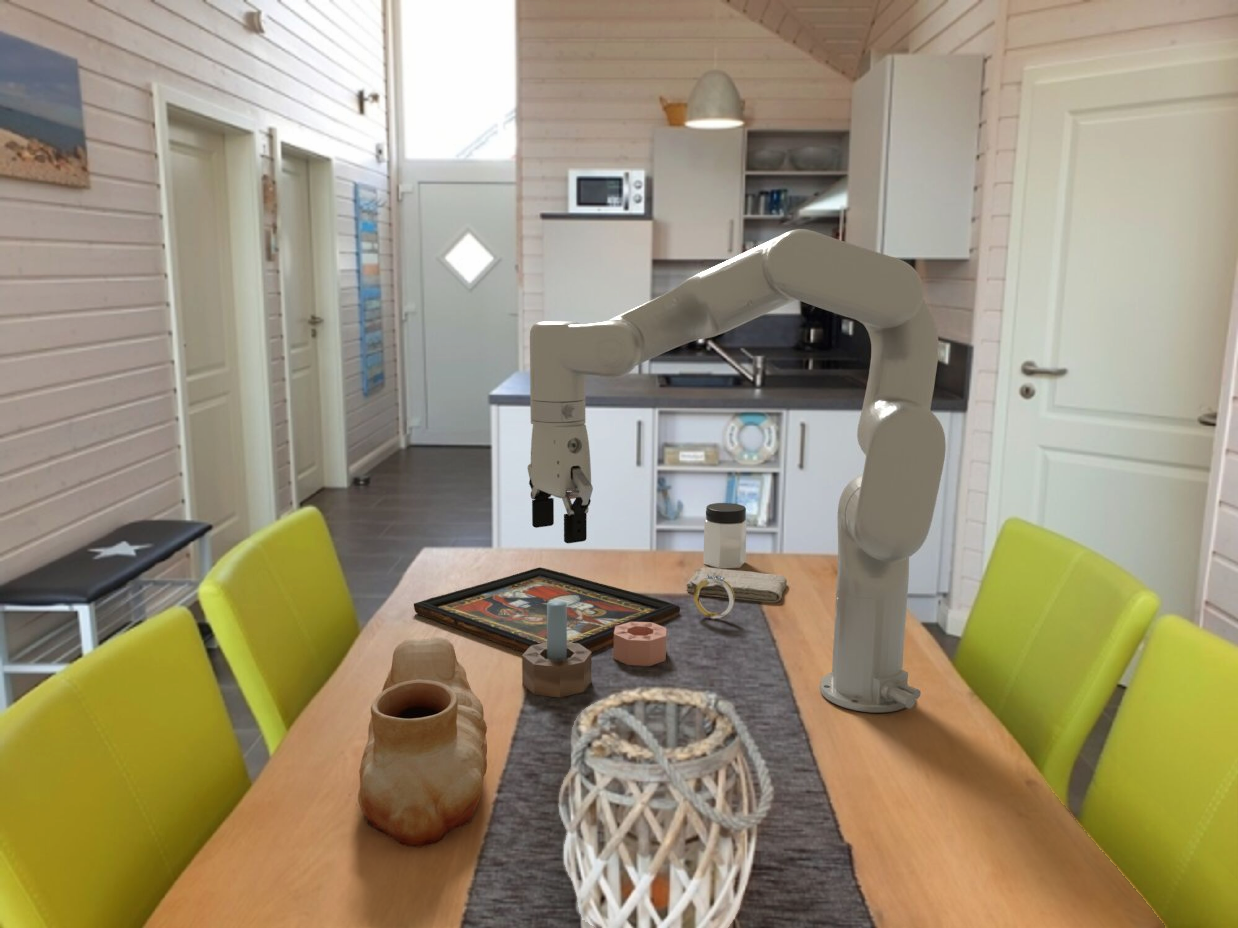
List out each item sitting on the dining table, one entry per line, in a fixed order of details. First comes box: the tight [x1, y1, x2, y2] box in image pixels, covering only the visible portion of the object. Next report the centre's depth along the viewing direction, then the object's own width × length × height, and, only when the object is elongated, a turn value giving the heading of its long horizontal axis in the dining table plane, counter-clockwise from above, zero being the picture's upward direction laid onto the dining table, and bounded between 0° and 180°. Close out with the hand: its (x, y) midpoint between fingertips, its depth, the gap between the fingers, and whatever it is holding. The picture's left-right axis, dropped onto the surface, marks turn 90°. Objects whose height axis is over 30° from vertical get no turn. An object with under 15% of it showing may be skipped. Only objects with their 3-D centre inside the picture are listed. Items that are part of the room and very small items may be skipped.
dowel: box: [547, 601, 567, 660], centre depth 136 cm, size 3×3×12 cm
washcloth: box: [686, 566, 788, 603], centre depth 181 cm, size 12×18×3 cm, turn 74°
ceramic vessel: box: [357, 636, 488, 848], centre depth 108 cm, size 14×26×15 cm, turn 8°
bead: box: [521, 642, 592, 699], centre depth 137 cm, size 9×9×4 cm
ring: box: [693, 572, 735, 620], centre depth 164 cm, size 7×3×8 cm, turn 62°
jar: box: [703, 502, 748, 569], centre depth 197 cm, size 9×8×12 cm
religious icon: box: [413, 567, 681, 654], centre depth 166 cm, size 38×35×3 cm
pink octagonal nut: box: [612, 622, 667, 667], centre depth 148 cm, size 8×8×4 cm
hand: (558, 533), depth 133 cm, fingers open, 9 cm apart
